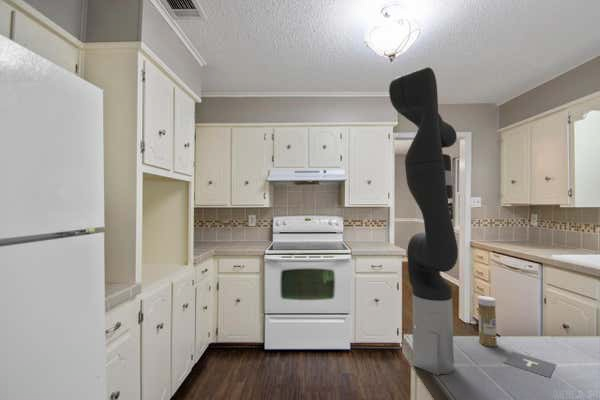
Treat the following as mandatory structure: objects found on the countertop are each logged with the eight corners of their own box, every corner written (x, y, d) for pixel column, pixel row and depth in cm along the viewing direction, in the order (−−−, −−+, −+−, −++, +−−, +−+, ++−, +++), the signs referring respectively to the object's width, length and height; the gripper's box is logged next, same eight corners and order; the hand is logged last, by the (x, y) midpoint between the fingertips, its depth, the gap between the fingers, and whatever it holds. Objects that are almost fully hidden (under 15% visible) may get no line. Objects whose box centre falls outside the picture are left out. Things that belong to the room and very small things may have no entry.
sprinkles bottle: (492, 348, 81) (491, 300, 81) (475, 342, 85) (474, 296, 85) (500, 344, 83) (498, 298, 84) (483, 339, 87) (482, 294, 88)
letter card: (549, 377, 66) (549, 377, 66) (503, 362, 73) (503, 362, 73) (556, 364, 72) (556, 364, 72) (512, 351, 79) (512, 351, 79)
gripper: (438, 187, 105) (439, 231, 104) (419, 184, 96) (420, 232, 95) (460, 185, 100) (461, 232, 99) (442, 182, 90) (444, 233, 89)
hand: (441, 232), depth 97 cm, fingers open, 8 cm apart
